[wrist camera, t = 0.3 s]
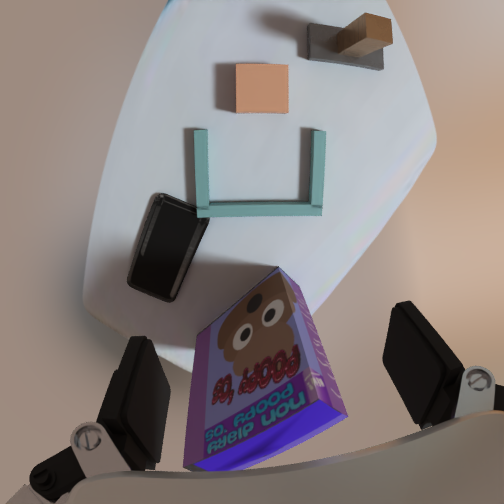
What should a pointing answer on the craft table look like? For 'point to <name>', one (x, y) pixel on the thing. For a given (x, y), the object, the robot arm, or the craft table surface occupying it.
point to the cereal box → (259, 381)
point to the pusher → (351, 42)
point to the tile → (261, 88)
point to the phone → (166, 247)
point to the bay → (260, 207)
